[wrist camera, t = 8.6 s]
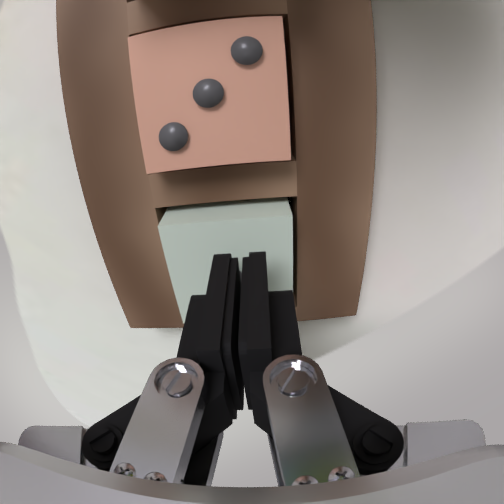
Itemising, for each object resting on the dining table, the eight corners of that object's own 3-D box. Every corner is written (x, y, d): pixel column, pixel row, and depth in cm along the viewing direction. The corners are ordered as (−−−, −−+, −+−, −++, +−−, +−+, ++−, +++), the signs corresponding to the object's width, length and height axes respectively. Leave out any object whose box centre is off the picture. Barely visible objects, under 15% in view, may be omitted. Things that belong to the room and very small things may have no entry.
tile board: (333, -102, 5) (344, -122, 4) (345, 289, 16) (355, 314, 14) (83, -69, 6) (63, -82, 4) (140, 302, 16) (130, 327, 14)
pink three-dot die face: (273, 31, 9) (282, 14, 7) (281, 141, 12) (291, 161, 9) (154, 45, 10) (125, 36, 7) (168, 152, 12) (145, 175, 9)
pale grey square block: (283, 185, 13) (293, 217, 10) (285, 275, 15) (293, 319, 12) (175, 195, 13) (156, 228, 10) (192, 281, 15) (182, 325, 13)
